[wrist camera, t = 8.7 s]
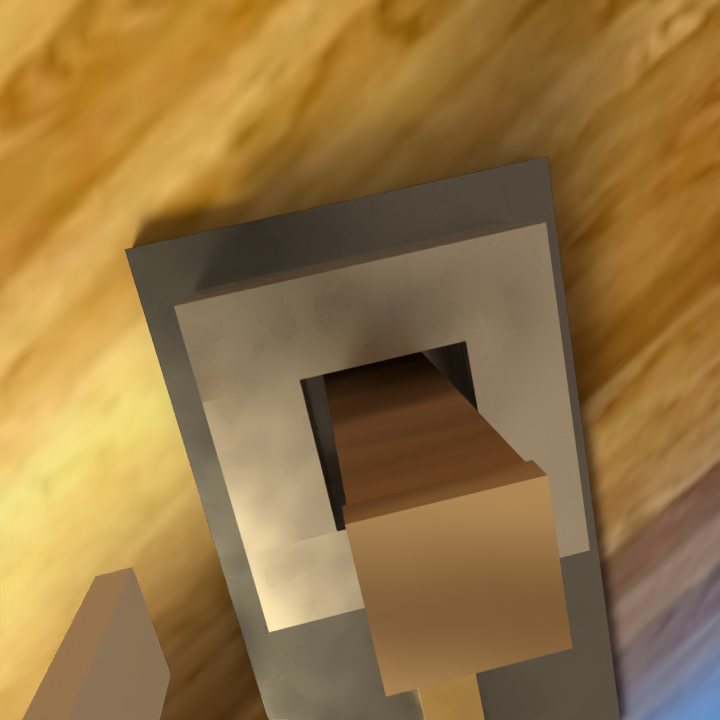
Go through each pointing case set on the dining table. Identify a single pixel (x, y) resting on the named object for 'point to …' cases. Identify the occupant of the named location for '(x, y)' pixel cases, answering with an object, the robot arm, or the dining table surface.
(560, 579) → the peg
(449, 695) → the pin
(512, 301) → the dock
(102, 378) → the dining table surface
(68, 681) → the robot arm
